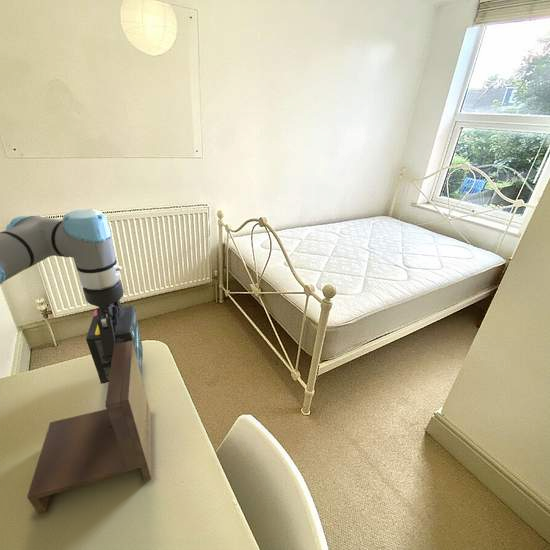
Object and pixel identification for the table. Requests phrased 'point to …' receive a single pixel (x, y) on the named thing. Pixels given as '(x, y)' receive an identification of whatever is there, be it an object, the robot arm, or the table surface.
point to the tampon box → (124, 333)
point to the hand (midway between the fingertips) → (121, 356)
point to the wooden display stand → (98, 436)
